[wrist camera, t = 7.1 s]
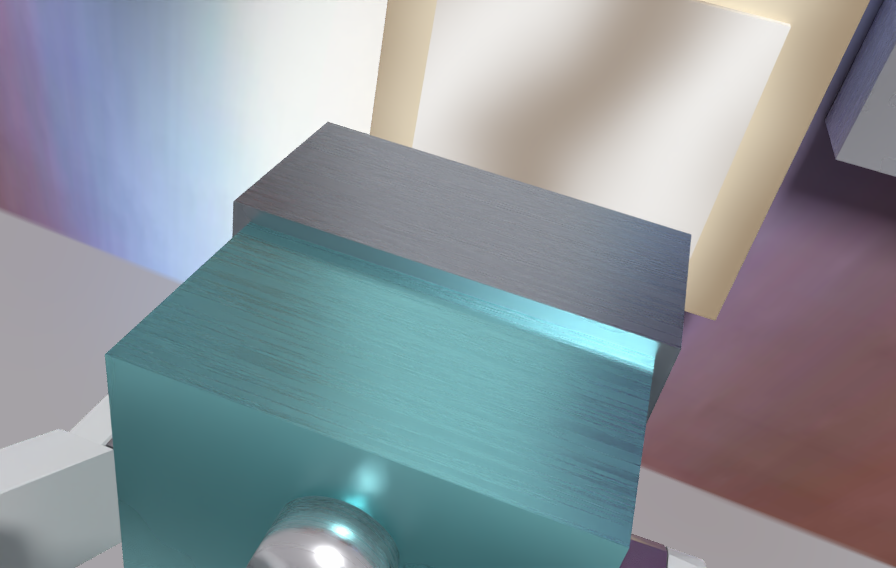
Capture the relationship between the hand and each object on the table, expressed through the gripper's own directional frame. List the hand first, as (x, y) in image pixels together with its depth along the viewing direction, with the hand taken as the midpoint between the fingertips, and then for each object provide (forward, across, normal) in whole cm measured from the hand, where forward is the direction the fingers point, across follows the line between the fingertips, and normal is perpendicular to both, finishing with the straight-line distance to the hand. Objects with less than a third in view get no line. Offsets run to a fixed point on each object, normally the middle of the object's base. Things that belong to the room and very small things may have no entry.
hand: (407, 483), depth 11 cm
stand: (+18, 0, 0) cm, 18 cm away
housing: (+2, 0, 0) cm, 2 cm away
